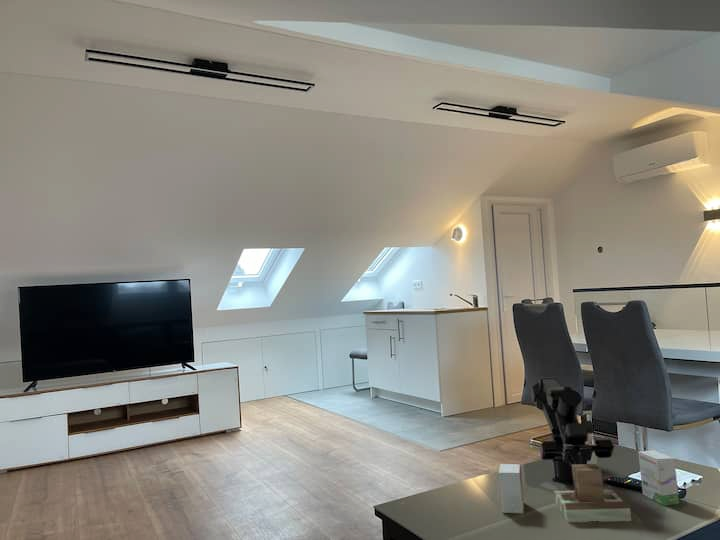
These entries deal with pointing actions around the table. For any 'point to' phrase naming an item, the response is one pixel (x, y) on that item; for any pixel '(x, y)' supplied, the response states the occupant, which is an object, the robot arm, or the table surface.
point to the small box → (511, 488)
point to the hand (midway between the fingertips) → (584, 478)
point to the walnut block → (588, 483)
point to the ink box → (658, 477)
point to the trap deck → (592, 508)
